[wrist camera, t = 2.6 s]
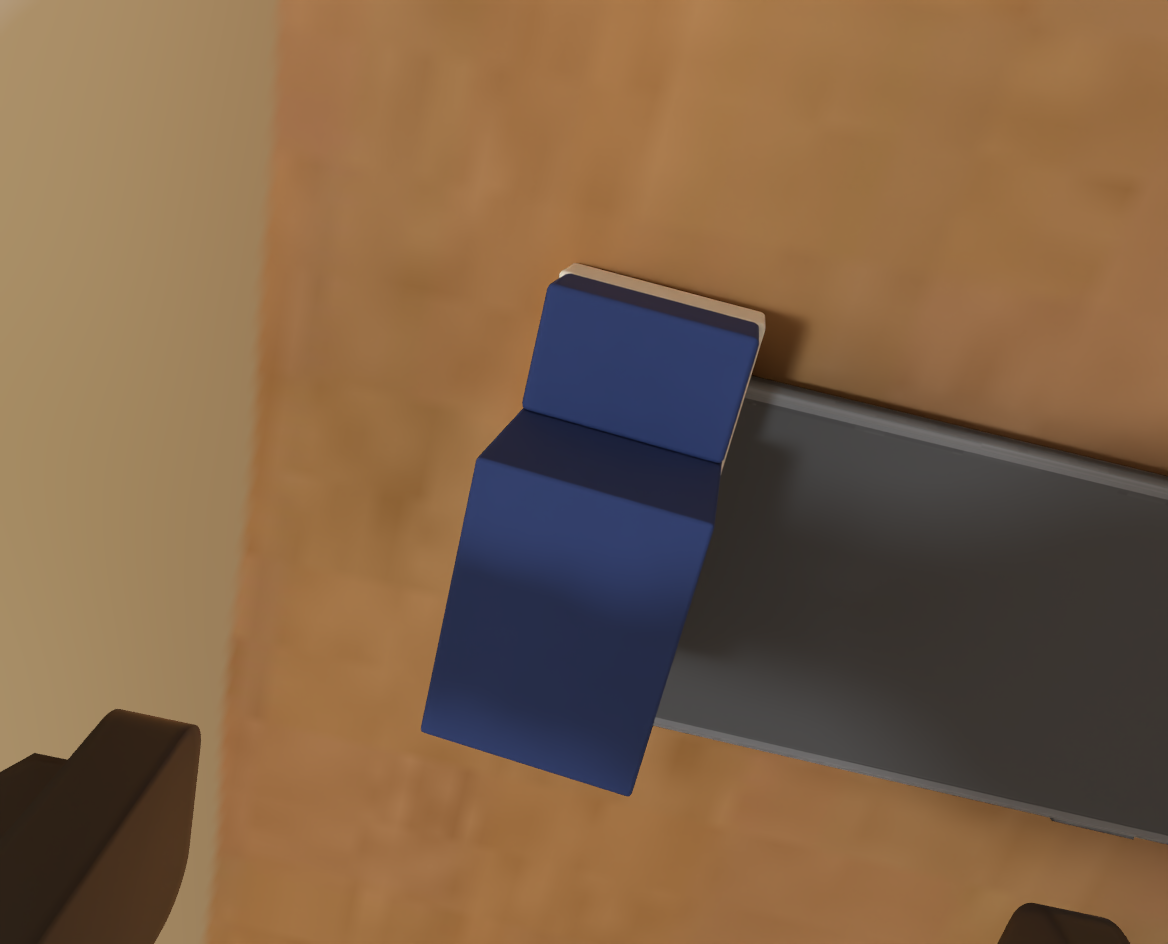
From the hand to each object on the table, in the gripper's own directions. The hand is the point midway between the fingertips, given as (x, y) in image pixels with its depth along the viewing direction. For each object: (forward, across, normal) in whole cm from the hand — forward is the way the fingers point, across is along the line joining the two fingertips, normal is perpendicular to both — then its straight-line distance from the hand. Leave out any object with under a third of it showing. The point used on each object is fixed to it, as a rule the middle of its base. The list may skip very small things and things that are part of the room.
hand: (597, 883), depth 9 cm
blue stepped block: (+9, 0, 0) cm, 9 cm away
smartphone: (+9, -8, 0) cm, 12 cm away
